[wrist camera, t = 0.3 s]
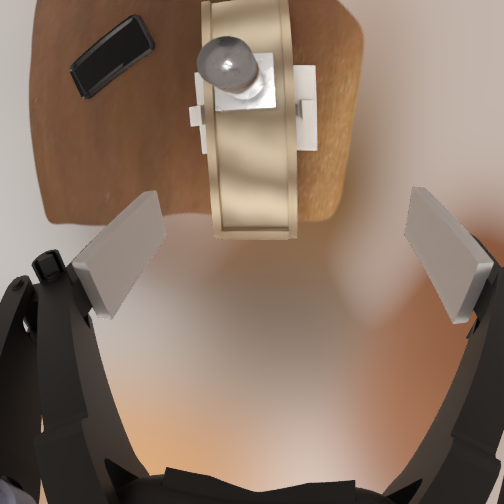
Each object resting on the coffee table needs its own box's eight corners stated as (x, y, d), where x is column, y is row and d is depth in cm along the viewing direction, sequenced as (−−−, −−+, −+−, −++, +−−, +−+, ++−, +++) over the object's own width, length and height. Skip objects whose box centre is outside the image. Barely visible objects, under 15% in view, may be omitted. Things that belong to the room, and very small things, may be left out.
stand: (196, 73, 34) (178, 70, 28) (314, 66, 32) (320, 60, 26) (210, 205, 44) (198, 225, 38) (315, 204, 42) (319, 225, 36)
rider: (221, 65, 28) (182, 31, 16) (274, 61, 27) (265, 21, 15) (224, 113, 30) (184, 103, 18) (277, 110, 29) (269, 96, 17)
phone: (68, 68, 32) (135, 11, 28) (72, 67, 33) (139, 13, 29) (84, 102, 36) (155, 48, 31) (88, 101, 37) (158, 49, 32)
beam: (208, 14, 28) (197, 0, 23) (290, 8, 26) (289, -8, 22) (220, 226, 40) (210, 239, 35) (298, 226, 38) (299, 239, 33)
